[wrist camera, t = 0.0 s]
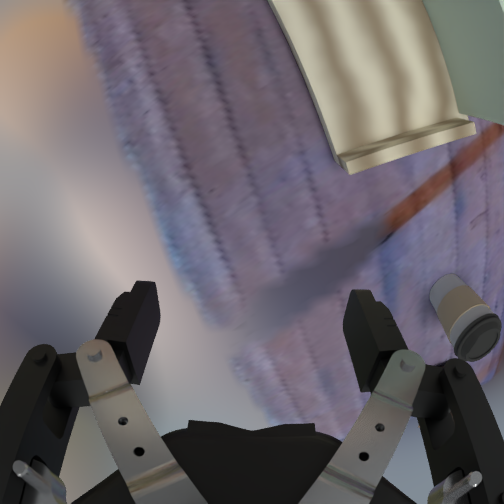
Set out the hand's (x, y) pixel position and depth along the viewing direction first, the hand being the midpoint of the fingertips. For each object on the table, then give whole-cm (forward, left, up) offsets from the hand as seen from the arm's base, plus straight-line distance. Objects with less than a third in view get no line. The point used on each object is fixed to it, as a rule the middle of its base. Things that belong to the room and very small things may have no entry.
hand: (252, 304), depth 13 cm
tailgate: (-20, +23, -26) cm, 40 cm away
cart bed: (-16, +14, -29) cm, 36 cm away
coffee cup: (+20, +35, -30) cm, 50 cm away
